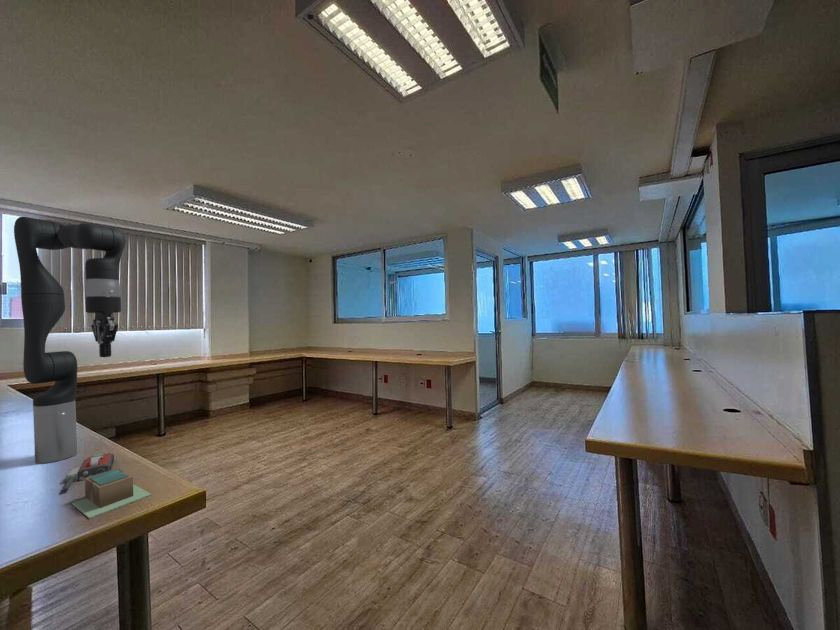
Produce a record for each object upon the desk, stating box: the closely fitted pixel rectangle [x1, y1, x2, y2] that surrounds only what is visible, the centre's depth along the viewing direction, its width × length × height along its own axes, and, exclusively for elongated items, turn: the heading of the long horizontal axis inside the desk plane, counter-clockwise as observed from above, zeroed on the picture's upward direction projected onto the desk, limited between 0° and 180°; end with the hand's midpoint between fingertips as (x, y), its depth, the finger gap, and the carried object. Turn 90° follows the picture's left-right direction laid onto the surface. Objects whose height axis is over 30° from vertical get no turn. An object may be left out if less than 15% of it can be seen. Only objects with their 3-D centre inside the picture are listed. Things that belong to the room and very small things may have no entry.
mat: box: [71, 483, 152, 519], centre depth 82 cm, size 12×11×1 cm
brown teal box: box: [84, 468, 134, 508], centre depth 83 cm, size 5×6×10 cm
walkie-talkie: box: [62, 452, 115, 491], centre depth 96 cm, size 9×4×20 cm
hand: (105, 356), depth 99 cm, fingers closed
